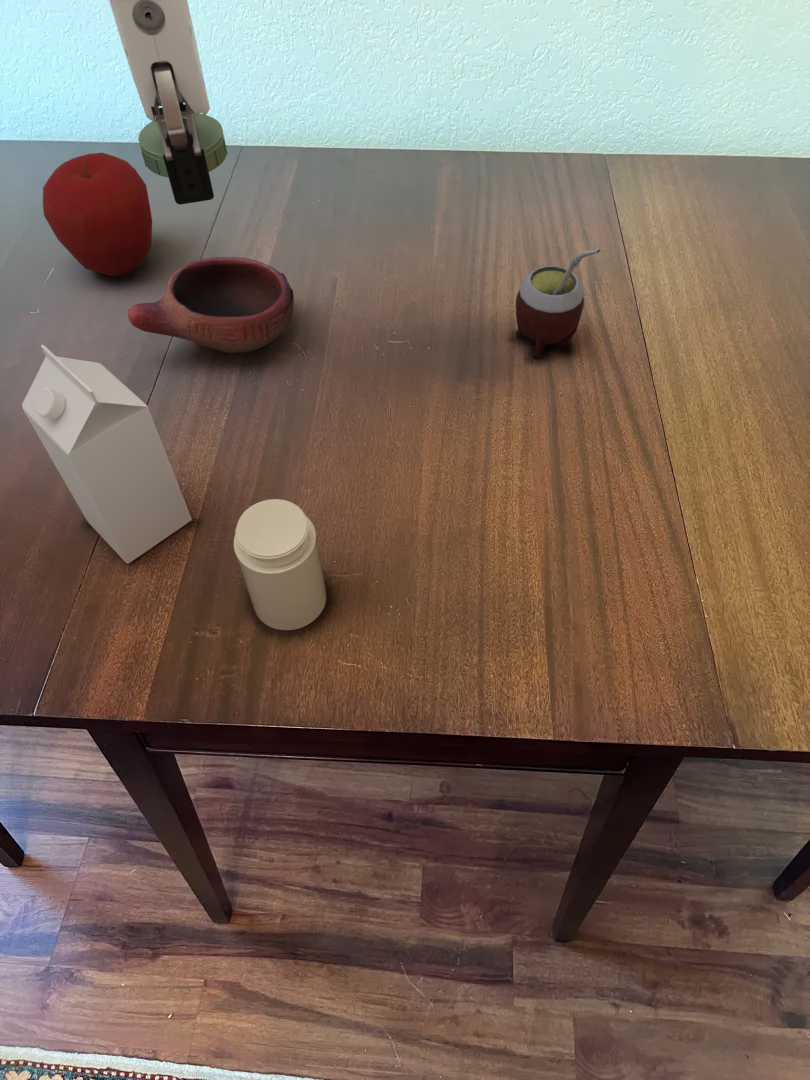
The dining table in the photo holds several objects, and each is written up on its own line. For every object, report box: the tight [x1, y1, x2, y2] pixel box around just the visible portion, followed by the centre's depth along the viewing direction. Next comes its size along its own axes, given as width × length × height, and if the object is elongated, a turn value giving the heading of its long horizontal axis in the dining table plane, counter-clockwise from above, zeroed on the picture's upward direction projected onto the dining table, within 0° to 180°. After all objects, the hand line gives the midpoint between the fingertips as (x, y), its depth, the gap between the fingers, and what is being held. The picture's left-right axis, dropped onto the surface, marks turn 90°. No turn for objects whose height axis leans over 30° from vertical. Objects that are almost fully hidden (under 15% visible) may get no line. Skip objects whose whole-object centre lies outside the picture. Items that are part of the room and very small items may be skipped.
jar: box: [233, 498, 327, 631], centre depth 64 cm, size 6×6×11 cm
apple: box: [42, 152, 153, 277], centre depth 90 cm, size 12×12×13 cm
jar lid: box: [138, 113, 228, 178], centre depth 65 cm, size 7×7×2 cm
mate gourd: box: [515, 249, 602, 360], centre depth 81 cm, size 8×8×15 cm
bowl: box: [127, 256, 295, 354], centre depth 84 cm, size 16×13×8 cm
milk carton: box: [21, 344, 193, 565], centre depth 65 cm, size 7×7×19 cm
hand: (190, 174), depth 67 cm, fingers closed on jar lid, 6 cm apart
